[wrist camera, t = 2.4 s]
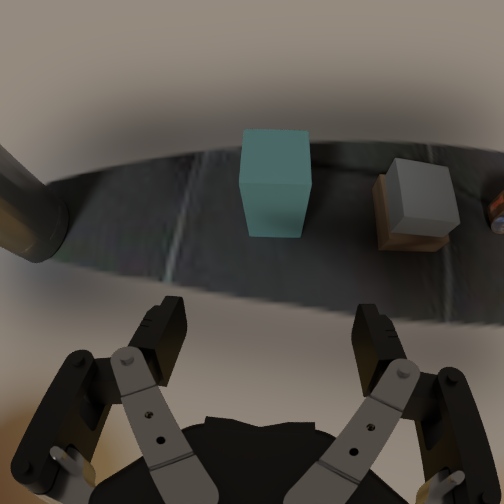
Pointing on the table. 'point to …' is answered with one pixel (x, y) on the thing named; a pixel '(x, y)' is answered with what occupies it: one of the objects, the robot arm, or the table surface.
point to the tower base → (398, 239)
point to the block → (275, 181)
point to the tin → (497, 213)
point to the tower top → (420, 199)
